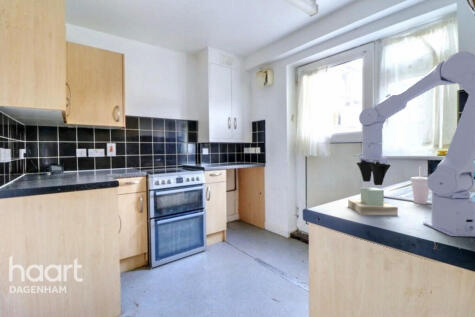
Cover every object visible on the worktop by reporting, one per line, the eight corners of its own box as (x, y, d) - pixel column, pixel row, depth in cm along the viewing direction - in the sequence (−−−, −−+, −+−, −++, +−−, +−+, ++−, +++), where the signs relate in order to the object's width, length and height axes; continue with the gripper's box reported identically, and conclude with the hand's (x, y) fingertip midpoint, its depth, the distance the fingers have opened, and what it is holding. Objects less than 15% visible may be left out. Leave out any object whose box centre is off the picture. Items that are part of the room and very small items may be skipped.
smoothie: (423, 201, 89) (423, 165, 88) (436, 205, 82) (436, 167, 82) (406, 201, 89) (406, 166, 89) (417, 205, 83) (417, 167, 82)
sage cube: (383, 204, 75) (383, 190, 75) (368, 205, 75) (368, 190, 75) (375, 201, 80) (375, 187, 80) (360, 201, 80) (360, 187, 80)
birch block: (397, 216, 72) (397, 207, 72) (361, 216, 73) (361, 207, 73) (379, 207, 83) (379, 199, 83) (348, 207, 84) (348, 199, 84)
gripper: (397, 143, 69) (397, 186, 70) (373, 144, 84) (373, 180, 84) (374, 143, 70) (374, 186, 70) (353, 144, 84) (353, 180, 85)
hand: (372, 183), depth 77 cm, fingers open, 7 cm apart
